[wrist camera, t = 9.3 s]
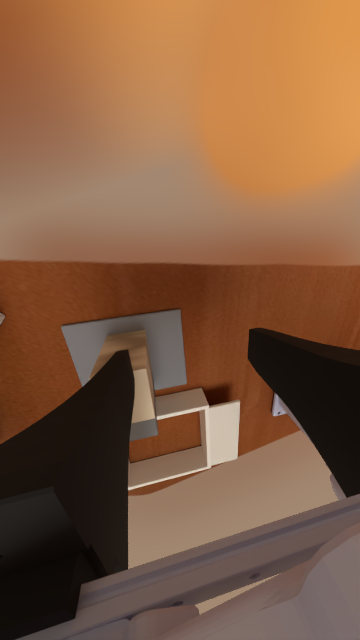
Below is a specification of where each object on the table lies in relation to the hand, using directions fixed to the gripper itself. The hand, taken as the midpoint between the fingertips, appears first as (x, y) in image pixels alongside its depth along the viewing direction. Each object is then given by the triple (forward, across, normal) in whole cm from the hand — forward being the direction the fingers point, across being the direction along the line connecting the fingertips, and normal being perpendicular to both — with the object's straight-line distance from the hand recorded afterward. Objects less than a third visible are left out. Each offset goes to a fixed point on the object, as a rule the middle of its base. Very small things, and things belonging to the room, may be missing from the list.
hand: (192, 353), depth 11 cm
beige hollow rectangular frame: (+10, +3, +18) cm, 21 cm away
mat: (+10, +5, +6) cm, 12 cm away
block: (+10, +5, +6) cm, 12 cm away
